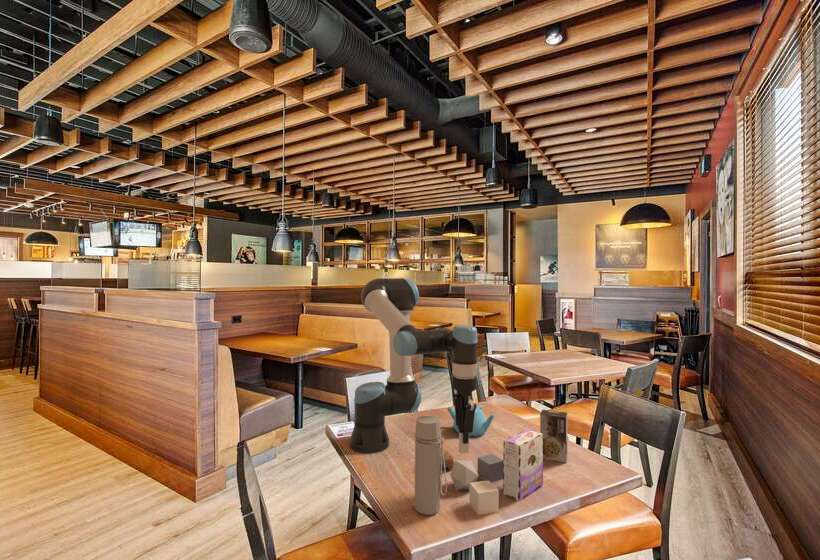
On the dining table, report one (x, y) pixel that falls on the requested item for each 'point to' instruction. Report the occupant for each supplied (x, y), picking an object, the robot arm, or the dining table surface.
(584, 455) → the dining table surface
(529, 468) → the candy box
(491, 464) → the charcoal block
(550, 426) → the coffee box
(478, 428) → the teapot
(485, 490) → the cream block
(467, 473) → the die
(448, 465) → the bread roll
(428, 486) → the water bottle
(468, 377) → the robot arm
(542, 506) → the dining table surface
